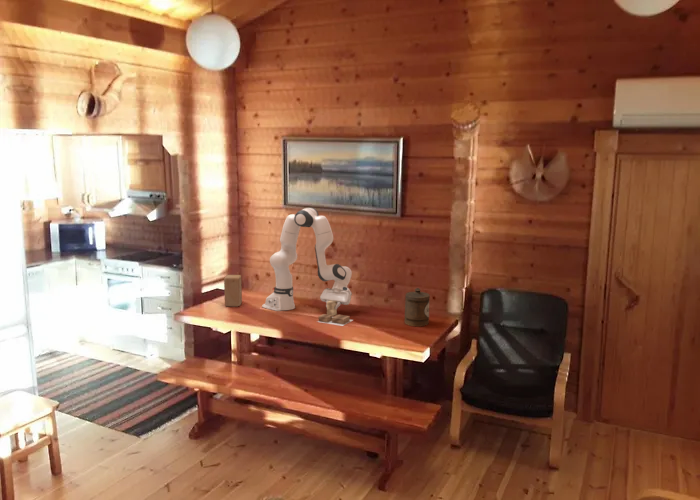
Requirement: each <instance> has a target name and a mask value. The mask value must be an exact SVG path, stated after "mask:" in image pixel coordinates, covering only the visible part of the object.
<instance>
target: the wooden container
mask: <svg viewBox="0 0 700 500" xmlns="http://www.w3.org/2000/svg"><path fill="white" fill-rule="evenodd" d="M430 298H431V297H430V294H429V293H428V292H424V291H421V288H419V287H416V288H415V289H414V291H409V292H406V293H405V300H404V301H405V303H404V304H405V305H404V323H405V325H408V326H410V327H411V326H412V327H425V325H426V326H428V325H429V323H430V322H429V321H430V320H429V319H430Z"/></svg>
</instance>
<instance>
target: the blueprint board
mask: <svg viewBox="0 0 700 500" xmlns="http://www.w3.org/2000/svg"><path fill="white" fill-rule="evenodd" d="M352 321H354V319H350V321H349V322H347V323H345V324H338V323H332V320H331V321H329V322H321V321H319V320H317V321H316V323H317V322H318V323H320V324H321V323H323V324H328V325H335V326H341V327H343V326H345V325H347V324H350V323H351V322H352Z"/></svg>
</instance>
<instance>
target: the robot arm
mask: <svg viewBox="0 0 700 500" xmlns="http://www.w3.org/2000/svg"><path fill="white" fill-rule="evenodd" d="M301 227H302V228H312V229H313V232H314V236H315V244H314V250H315V257H316V258H315V259H316V264H317V276H318V278H319V280H321V281H322V282H328V281H329V282H330V281H331V280H332V281H334V283H333V285H332V288H330V287H329V288H328V287H326V288H324V289H323V291H322V293H321V294H320V296H319V298H320V300H321V302H325V303H326V304H325V308H326V309H327V302H328V301H330V300H331V301H337V305H336V306H335V307H334V308H335V309H337V310H338V308H339V307H340V306H341V305H345V306H346V305H347V306H349V304H350V303H351V299H352V296H353V295H352V294H353V293H352V291H351V290H350V288H349V287H348V285H349V284H350V281H351V279H352V274H353V272H352V269H351V268H350V267H349V266H347V265H346V266H343V265H341V264H339V263H333V264H327V261H326V260H327V259H326V249H327V248H329V247H330V245H332V243H333V241H334V233H333V231H332V228H331V227H332V226H331V224H330V222H329V220H328V218H327V217H326V216H325V215H319V212H318V210H317V208H315V207H305V208H303V209H300V210H298V211H296V213H295V214H293V213H292V214H291V213H290V214H289V215H287V216H286V217H285V221H284V223H283V225H282V229H281V233H280V238H279V242H280V250H278V251H276V252H274V253H273V254H272V255H271V256H270V257H269V264H270V266H271V268H272V269H273V271H274V275H275V286H274V287H273V288H272V291H273V292H272V293H270V295H268V296H267V297H266V298H265V303H263V304H262V305H261V308H265V309H267V310H270V311H271V310H272V311H274V312H280V311H290V310H294V309H296V305H295V301H294V287H293V284H294V283H293V274H292V273H291V270H290V268H289V267H290V266H291V265H292V264H294V263H296V261H297V259H298V253H297V243H298V238H299V235H300V230H301Z"/></svg>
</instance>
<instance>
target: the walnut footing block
mask: <svg viewBox="0 0 700 500" xmlns="http://www.w3.org/2000/svg"><path fill="white" fill-rule="evenodd" d="M332 317H333V316H332V315H327V313H323V314H320V315H319V316H318V321H321V322H329V321H331V320H332ZM321 322H320V323H321Z"/></svg>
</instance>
